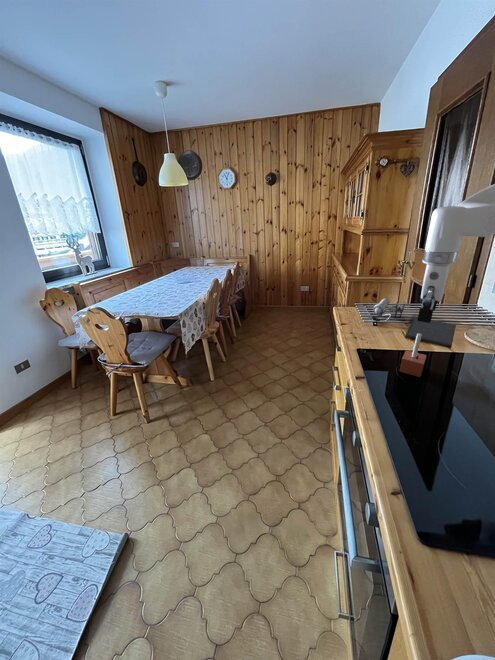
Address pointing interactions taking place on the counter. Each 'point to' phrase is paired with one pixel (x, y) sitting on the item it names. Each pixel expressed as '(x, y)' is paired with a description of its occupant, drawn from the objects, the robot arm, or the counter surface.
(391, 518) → the counter surface
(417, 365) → the reddish-brown block
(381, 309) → the clip-on lamp
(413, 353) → the stylus
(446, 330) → the plate
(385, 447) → the counter surface
